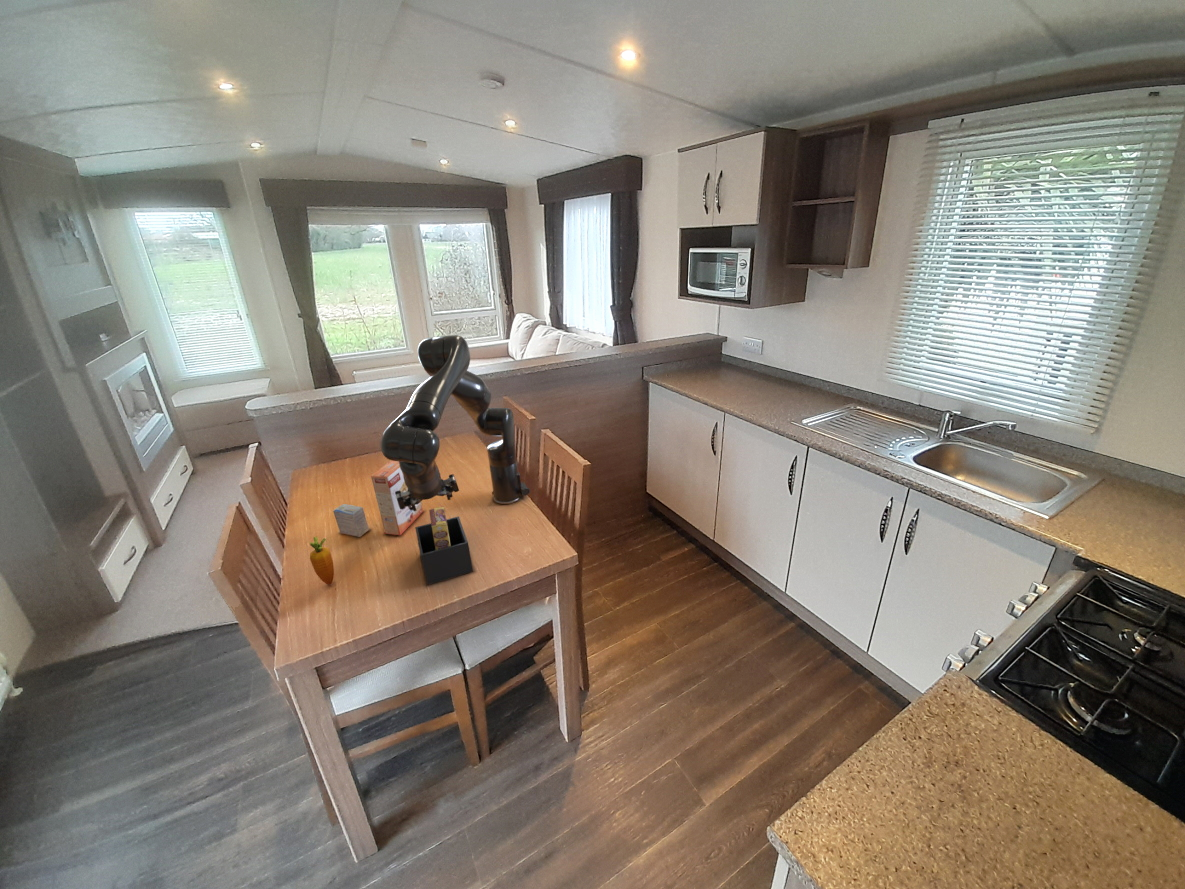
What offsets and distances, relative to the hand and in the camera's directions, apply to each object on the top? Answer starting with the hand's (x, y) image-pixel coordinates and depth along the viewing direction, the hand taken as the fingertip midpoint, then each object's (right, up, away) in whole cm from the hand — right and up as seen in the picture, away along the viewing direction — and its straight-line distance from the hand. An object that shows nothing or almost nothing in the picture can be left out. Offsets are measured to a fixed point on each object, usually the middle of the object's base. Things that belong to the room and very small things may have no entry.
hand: (431, 502), depth 121 cm
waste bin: (0, -19, +14) cm, 24 cm away
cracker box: (-20, -11, +34) cm, 40 cm away
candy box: (0, -19, +14) cm, 23 cm away
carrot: (-30, -23, +8) cm, 39 cm away
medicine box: (-34, -13, +30) cm, 47 cm away
